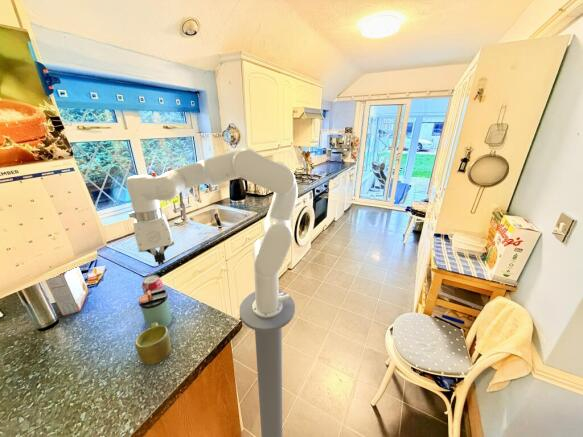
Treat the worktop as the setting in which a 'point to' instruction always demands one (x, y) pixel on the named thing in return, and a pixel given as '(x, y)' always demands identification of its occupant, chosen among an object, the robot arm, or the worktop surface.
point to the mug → (153, 344)
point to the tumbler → (156, 309)
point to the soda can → (152, 283)
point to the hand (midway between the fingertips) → (161, 262)
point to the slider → (145, 297)
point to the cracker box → (68, 291)
